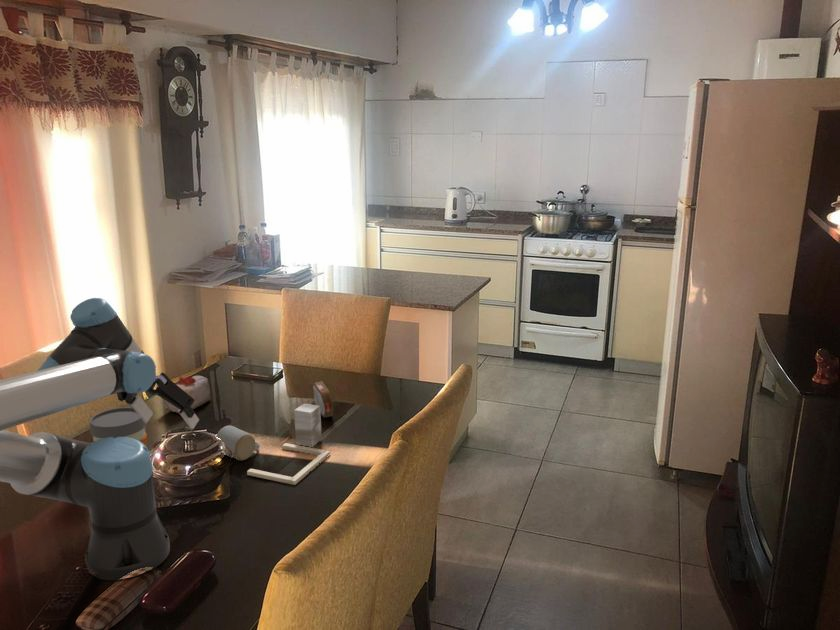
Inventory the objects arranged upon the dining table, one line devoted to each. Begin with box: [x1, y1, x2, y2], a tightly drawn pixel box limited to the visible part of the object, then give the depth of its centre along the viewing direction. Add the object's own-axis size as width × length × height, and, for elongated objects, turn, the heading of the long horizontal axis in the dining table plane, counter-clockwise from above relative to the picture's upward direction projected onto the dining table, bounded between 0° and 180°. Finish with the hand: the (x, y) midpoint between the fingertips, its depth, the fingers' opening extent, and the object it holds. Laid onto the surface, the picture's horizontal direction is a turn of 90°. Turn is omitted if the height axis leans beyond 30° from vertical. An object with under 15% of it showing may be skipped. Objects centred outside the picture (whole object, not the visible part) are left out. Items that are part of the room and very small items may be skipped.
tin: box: [312, 380, 334, 419], centre depth 201 cm, size 15×3×8 cm, turn 22°
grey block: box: [293, 403, 323, 448], centre depth 180 cm, size 5×5×10 cm
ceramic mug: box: [215, 425, 261, 461], centre depth 174 cm, size 11×8×8 cm
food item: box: [163, 375, 212, 415], centre depth 204 cm, size 14×8×10 cm, turn 159°
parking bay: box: [246, 442, 331, 486], centre depth 169 cm, size 17×14×1 cm
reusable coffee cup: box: [89, 406, 148, 447], centre depth 163 cm, size 13×13×15 cm
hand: (171, 421), depth 157 cm, fingers open, 13 cm apart
